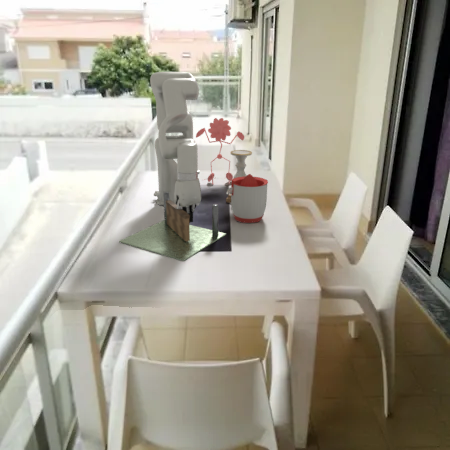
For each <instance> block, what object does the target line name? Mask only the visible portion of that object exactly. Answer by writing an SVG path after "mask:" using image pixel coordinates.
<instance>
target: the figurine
mask: <svg viewBox="0 0 450 450" xmlns="http://www.w3.org/2000/svg"><path fill="white" fill-rule="evenodd" d="M229 122H230V120H227V119H225V120H224V118H223V117H220V118H219V119H218V118H217V117H214V119H213V122H210V123H209V127H210V128H208V129H207V131H208V133H209V134H210V135H209V136H210V138H211V139H215V140H213V141H210V138H209V136H208V133H207V131H206V128H205V127H203V128H201V129H200V130H198V131H197V133H196V134H195V138H198V137H201V136H202V135H203V134H204V133H205V135H206V138H207V141H208V143H217V142H219V143H220V149H219V153H217V156H216V157H215V158H214V159H212V161H211V163H213V162H214V161H215V160H216V159H218V160H220V159H224V160H226V161H228V162H229V164H228V170H230V167H231V161H230V159H229V160H228V159H227V158H225V157H223V155H222V153H221V151H222V147H223V143H225V144H228V145H231V144H232V143H233V142H234V140H235V139H236V138H239V140H241V141H244V139H245V135H244V134H243V133H242V132H241V131H238V132H237V133H236V135H235V136H234V137H233V139H232V140H231V141H230V142H227V141H226V139H227V137H231V135H232V134H231V130H232V127H231V126H230V125H229ZM212 167H213V166H212V164H210V171H211V173H210V174H209V175H208V177H207V182H208V183H209V182H212V185H213V186H214V179H215V173H214V172H213V168H212ZM233 177H234V176H233V174H232V173H231V172H230V171H227V172H226V174H225V179H227V181H228V185H231V183H230V182H231V180H232V179H233ZM204 180H206V178H205V179H203V181H204Z"/></svg>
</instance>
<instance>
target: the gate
mask: <svg viewBox="0 0 450 450" xmlns="http://www.w3.org/2000/svg"><path fill="white" fill-rule="evenodd" d="M176 208H177V205H176V204H175V203H173V202H172V201H171V200H167V201H166V210H167V225H168V226H170V227H171V228H172V229H173V230H174V231H175V232H176V233H177V234H178V235H179V236H180V237H181V238H182V239H183V240H185V241H190V231H189V225H190V223H189V218H190V215H189V214H188V213H186V212H185V211H184V210H182V209H181V210H178V209H176Z"/></svg>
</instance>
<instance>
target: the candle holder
mask: <svg viewBox="0 0 450 450" xmlns="http://www.w3.org/2000/svg"><path fill="white" fill-rule="evenodd" d="M229 152H230V155H232V156H234V157H235V159H236V161H237V162H236V164H235V167H236V170H237V171H236V173H235V174H234V176H233V179H234V178H237V177H245V176H247V175H248V174H247V173H246V171H245V169H246V167H247V164H246V159H247V157H249V156H252V155H253V152H252V151H250V150H247V149H233V150H231V151H229ZM225 202H226V203H228V204H231V194H227V197H226V198H225Z"/></svg>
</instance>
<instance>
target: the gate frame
mask: <svg viewBox="0 0 450 450" xmlns="http://www.w3.org/2000/svg"><path fill="white" fill-rule="evenodd" d="M163 197H164V206H163V212H164V213H163V215H164V217H163V218H164V220H162V221H159V222H157V223H155V224H152V225H151V226H149V227H145V228H144V229H141V230H140V231H138V232H136V233H133V234H131V235H129V236H126V237H125V238H123V239H120V240H119V243H120V242H121V243H120V244H123V243H124V245H127V244H128V246H130V245H131V247H134V248H136V249H137V248H138V249H140V250H144V251H147V252H148V251H149V252H151V251H152V252H151V253H154V252H155V254H158V255H162V256H165V257H168V258H171V259H175V260H179V261H182V262H184V261H186V260H188V259H189V258H191V257H193V256H194V255H196V254H198V253H199V252H201V251H202V250H204V249H206V248H207V247H209V246H211V245H212V244H214V243H216V241H219V240H220V239H221V238H222V239H223V238H224V237H225V236H227V233H226V232H222V231H221V232H220V231H219V204H217V203H213V204H212V205H211V210H212V211H211V229H209V228H204V227H201V226H196V225H192V224H189V231H190V241H185V240H183V239H182V238H181V237H180V236H179V235H178V234H177V233H176V232H175V231H174V230H173V229H172V228H171V227H170V226H168V225H167V210H166V201H167V200H170V197H169V192H163Z"/></svg>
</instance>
